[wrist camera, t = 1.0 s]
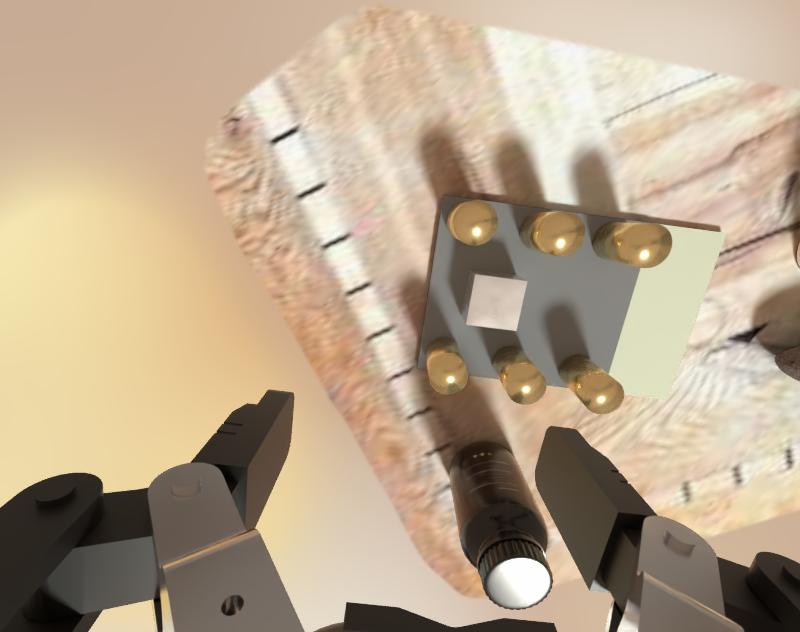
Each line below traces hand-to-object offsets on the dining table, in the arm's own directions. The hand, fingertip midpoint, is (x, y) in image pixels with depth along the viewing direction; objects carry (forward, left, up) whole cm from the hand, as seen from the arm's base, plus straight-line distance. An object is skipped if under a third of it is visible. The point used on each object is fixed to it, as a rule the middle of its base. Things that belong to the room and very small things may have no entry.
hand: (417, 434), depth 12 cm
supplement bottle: (-9, +17, -22) cm, 29 cm away
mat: (-13, -1, -21) cm, 25 cm away
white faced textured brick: (-6, -1, -21) cm, 22 cm away
